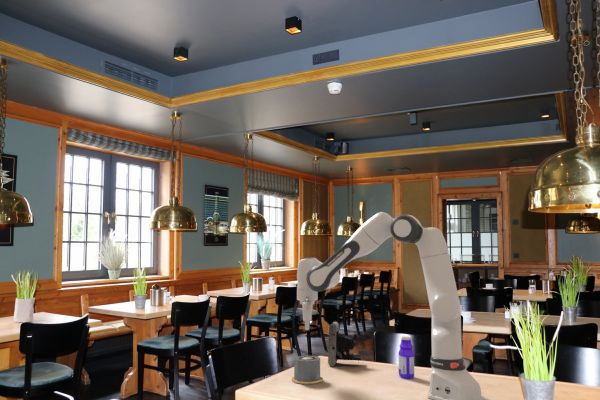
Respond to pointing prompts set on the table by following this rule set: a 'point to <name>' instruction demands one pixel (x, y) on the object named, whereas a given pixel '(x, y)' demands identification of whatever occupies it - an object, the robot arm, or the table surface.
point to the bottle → (406, 358)
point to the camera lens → (307, 358)
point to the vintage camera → (340, 345)
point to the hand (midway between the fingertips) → (307, 329)
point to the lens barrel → (307, 371)
